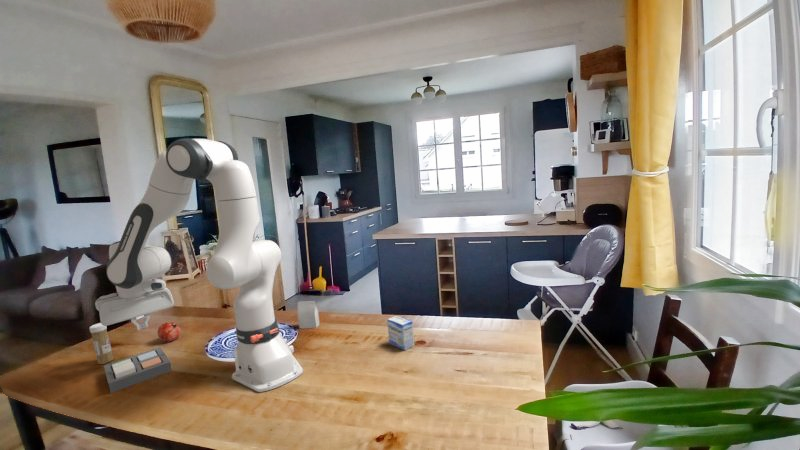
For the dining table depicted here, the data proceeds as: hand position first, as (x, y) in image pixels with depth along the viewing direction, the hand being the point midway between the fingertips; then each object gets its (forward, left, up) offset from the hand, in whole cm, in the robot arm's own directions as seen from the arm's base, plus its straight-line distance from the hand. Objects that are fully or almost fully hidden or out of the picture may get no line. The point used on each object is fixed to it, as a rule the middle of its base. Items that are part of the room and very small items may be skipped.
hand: (142, 328), depth 128 cm
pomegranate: (+17, -9, -13) cm, 23 cm away
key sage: (0, +7, -12) cm, 14 cm away
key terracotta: (-7, 0, -12) cm, 14 cm away
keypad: (-3, +4, -13) cm, 14 cm away
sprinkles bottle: (+17, +11, -13) cm, 24 cm away
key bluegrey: (0, 0, -12) cm, 12 cm away
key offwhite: (-7, +7, -11) cm, 15 cm away
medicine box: (-57, -62, -13) cm, 85 cm away
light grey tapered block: (-17, -50, -13) cm, 55 cm away
